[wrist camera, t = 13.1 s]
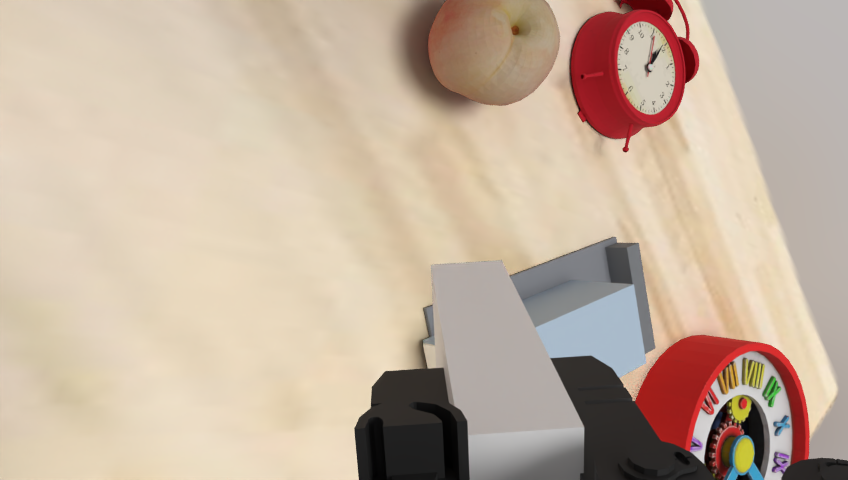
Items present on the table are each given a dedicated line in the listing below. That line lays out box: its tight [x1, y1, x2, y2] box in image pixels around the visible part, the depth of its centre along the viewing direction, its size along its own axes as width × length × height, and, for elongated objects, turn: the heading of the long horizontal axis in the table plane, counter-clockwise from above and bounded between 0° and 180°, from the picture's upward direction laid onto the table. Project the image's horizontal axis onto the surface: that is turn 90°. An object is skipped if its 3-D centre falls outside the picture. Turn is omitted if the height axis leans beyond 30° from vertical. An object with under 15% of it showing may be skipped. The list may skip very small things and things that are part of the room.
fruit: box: [428, 0, 560, 106], centre depth 45 cm, size 8×8×8 cm
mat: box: [424, 237, 655, 354], centre depth 52 cm, size 20×10×2 cm, turn 104°
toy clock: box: [635, 335, 809, 480], centre depth 63 cm, size 20×6×20 cm
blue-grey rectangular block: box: [423, 280, 646, 378], centre depth 49 cm, size 6×6×15 cm
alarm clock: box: [571, 0, 699, 152], centre depth 57 cm, size 10×6×15 cm
